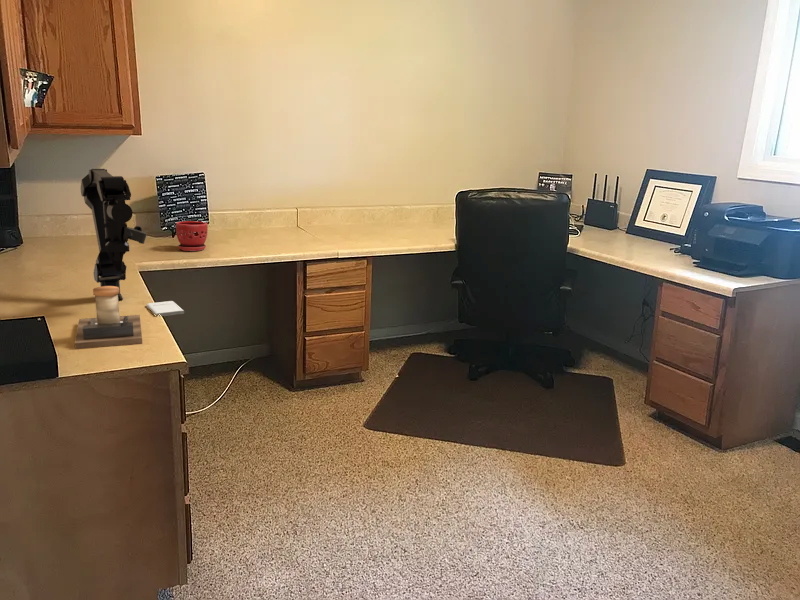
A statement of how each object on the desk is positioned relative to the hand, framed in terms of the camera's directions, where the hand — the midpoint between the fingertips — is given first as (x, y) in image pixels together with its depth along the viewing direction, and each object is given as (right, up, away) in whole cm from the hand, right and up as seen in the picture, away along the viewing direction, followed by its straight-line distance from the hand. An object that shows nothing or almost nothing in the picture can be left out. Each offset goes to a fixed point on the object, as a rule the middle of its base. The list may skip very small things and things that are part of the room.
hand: (119, 271), depth 205 cm
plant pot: (-7, +13, +95) cm, 97 cm away
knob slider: (+6, -16, -21) cm, 27 cm away
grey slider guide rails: (+5, -16, -19) cm, 26 cm away
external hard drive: (+12, -12, +5) cm, 18 cm away
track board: (+5, -18, -18) cm, 26 cm away
